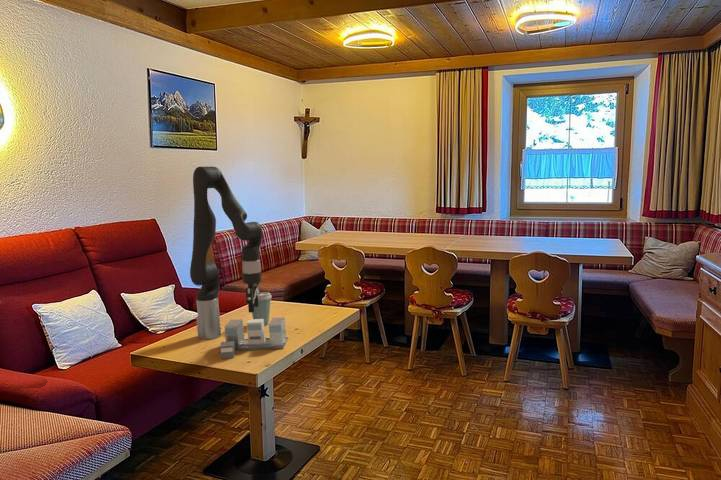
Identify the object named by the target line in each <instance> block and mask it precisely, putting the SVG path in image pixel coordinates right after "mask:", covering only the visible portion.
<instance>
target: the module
mask: <svg viewBox="0 0 721 480" xmlns="http://www.w3.org/2000/svg"><path fill="white" fill-rule="evenodd" d="M246 328H247V329H246V331H247V339H248V344H260V343H263V342H264V341H265V338H266V331H265V325H264V319H253V318H252V319H249V320H248V321H247V322H246Z"/></svg>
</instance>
